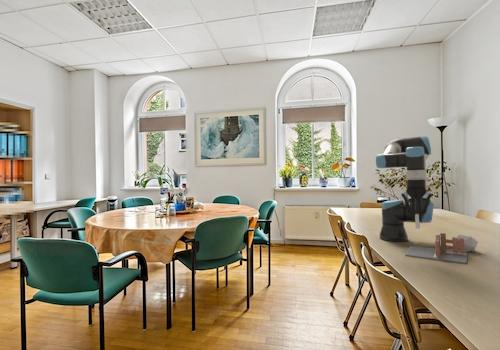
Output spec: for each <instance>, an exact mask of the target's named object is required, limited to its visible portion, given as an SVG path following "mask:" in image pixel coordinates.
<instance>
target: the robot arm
mask: <svg viewBox="0 0 500 350" xmlns="http://www.w3.org/2000/svg"><path fill="white" fill-rule="evenodd" d="M383 151H384V152H383V153H380V154H376V156H375V166H376V168H378V169H391V168H393V169H394V168H406V179H407V181H406V190H405V192H403V193H401V197H402V198H403V199H393V200H386V201H383V202H382V203H381V221H382V223H381V224H382V226H381V229H380V232H379V239H381V240H384V241H390V242H407V241H408V240H409V236H408V234H407V231H406V228H405V223H415V229H416V230H417V229H418V230H419V229H420V228H421V227H420V225H421V224H429V223H430V224H431V223H432V222H433V215H434V206H435V205H434V202H432V201H431V197H432V196H433V193H430V192H429V191H428V186H427V184H428V183H427V159H429V156H431V154H432V148H431V143H430V139H429V138H428V136H424V135H423V136H413V137H403V138H402V137H401V138H397V139H393V140H392V141H389V142H388V143H387V144H386V145H385V146H384V149H383ZM420 223H421V224H420Z"/></svg>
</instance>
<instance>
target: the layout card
mask: <svg viewBox="0 0 500 350" xmlns="http://www.w3.org/2000/svg"><path fill="white" fill-rule="evenodd" d="M404 256H405V257H412V258H419V259H426V260H434V261H439V260H440V261H442V262H447V261H448V262H447V263H454V262H455V263H456V264H460V265H461V264H464V265H467V264H468V263H467V262H468V261H467V260H468V252H465V254H461V253H460V251H458V253H453V250H449V249H446V253H444V252H441V248H440V257H437V256H436V248H435V247H426V246H419V245H417V246H416V245H411V246H410V248H409V249H408V250H407V252H406V253H405V254H404Z"/></svg>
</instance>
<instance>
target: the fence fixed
mask: <svg viewBox="0 0 500 350" xmlns="http://www.w3.org/2000/svg"><path fill="white" fill-rule="evenodd" d="M439 235H440V249H441V252H444V253H446V250H453V253H458V251H460V253H461V254H465V248H464V238H459V240H457V237H454V236H453V237H451V239H448V238H447V234H446V232H440V234H439ZM448 244H452V245H448ZM457 244H459V246H460V247H458V246H457Z"/></svg>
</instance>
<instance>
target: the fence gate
mask: <svg viewBox="0 0 500 350" xmlns="http://www.w3.org/2000/svg"><path fill="white" fill-rule="evenodd" d="M434 244H435V247H434V248H436V256H437V257H440V249H441V237H440V234H435V240H434Z"/></svg>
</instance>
